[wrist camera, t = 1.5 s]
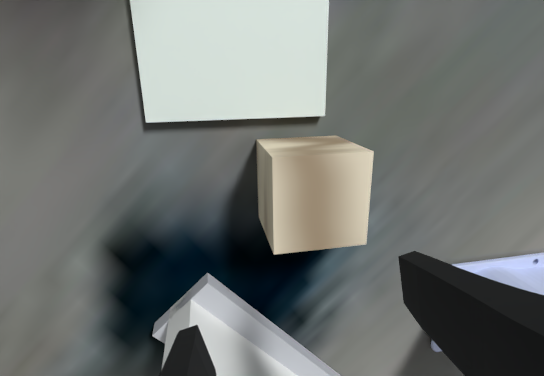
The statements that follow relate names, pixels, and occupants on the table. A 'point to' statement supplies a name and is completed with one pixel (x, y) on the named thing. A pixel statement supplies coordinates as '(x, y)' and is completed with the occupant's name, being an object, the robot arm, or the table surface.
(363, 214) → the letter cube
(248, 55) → the sage pad
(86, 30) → the table surface
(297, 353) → the divider screen
